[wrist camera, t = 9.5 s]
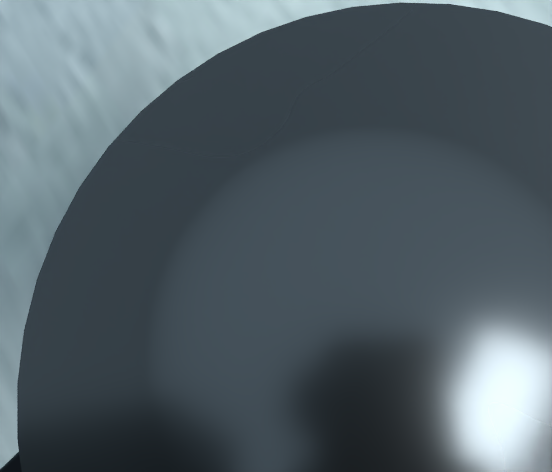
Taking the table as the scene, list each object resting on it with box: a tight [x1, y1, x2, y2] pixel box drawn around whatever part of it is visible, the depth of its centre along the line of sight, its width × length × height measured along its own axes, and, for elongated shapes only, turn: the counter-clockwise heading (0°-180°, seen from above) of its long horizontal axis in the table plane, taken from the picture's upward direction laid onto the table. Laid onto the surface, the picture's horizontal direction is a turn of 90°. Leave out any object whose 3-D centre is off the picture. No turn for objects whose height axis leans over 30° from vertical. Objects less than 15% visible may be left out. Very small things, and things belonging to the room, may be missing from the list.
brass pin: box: [18, 3, 552, 472], centre depth 9 cm, size 5×5×13 cm
